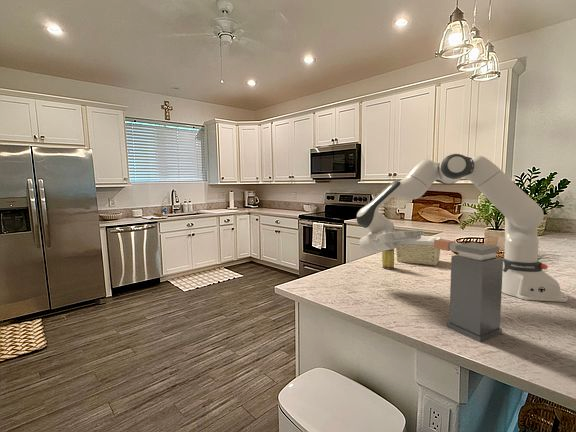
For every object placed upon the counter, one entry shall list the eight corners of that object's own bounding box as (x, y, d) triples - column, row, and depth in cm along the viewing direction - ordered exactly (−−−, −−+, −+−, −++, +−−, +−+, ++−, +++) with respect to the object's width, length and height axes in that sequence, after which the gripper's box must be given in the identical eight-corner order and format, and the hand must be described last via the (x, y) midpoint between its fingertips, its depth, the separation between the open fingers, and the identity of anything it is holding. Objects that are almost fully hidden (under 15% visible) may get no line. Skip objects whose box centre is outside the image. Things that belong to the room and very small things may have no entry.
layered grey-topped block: (495, 320, 95) (499, 246, 92) (479, 326, 91) (482, 250, 89) (443, 300, 111) (445, 237, 109) (427, 305, 108) (429, 240, 105)
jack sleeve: (502, 333, 95) (506, 258, 92) (480, 342, 90) (483, 263, 87) (468, 319, 105) (470, 251, 102) (446, 326, 100) (449, 255, 97)
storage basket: (393, 261, 182) (393, 237, 180) (400, 256, 195) (401, 233, 193) (437, 267, 168) (437, 241, 166) (441, 260, 181) (442, 236, 180)
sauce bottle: (384, 265, 173) (385, 231, 171) (395, 267, 169) (396, 232, 167) (380, 268, 168) (380, 233, 166) (391, 270, 164) (391, 234, 162)
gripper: (368, 233, 126) (393, 226, 114) (403, 231, 135) (429, 224, 123) (371, 248, 124) (396, 243, 112) (406, 245, 134) (433, 239, 122)
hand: (414, 233), depth 118 cm, fingers open, 8 cm apart
